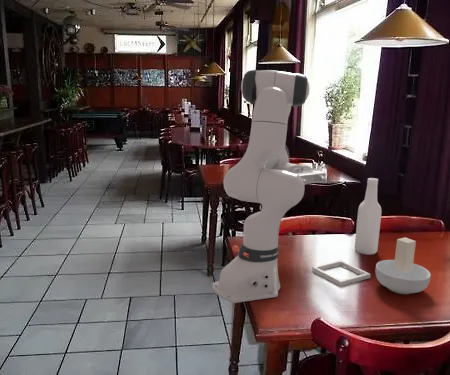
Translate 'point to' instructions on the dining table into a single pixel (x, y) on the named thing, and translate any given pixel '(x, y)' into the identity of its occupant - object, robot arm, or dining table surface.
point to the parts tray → (319, 271)
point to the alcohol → (368, 221)
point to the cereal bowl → (402, 277)
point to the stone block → (404, 254)
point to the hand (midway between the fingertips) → (315, 181)
